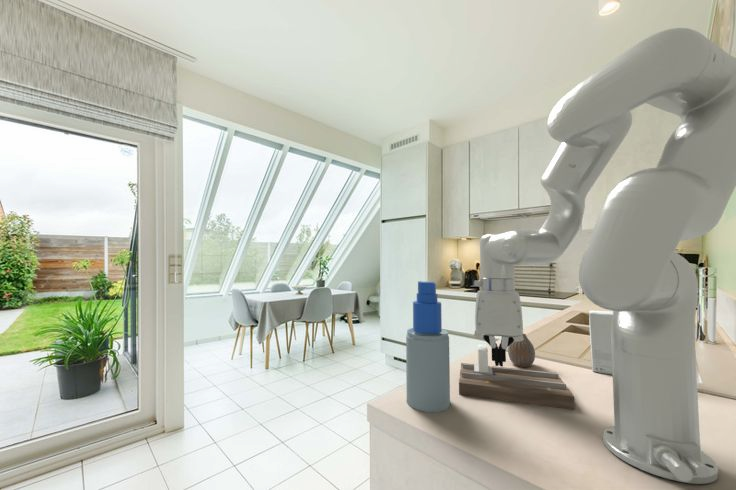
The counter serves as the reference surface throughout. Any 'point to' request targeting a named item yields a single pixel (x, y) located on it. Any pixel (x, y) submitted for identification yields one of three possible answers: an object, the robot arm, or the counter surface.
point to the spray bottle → (427, 354)
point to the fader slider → (483, 361)
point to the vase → (522, 352)
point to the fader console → (516, 386)
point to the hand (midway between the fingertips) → (498, 364)
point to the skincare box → (601, 341)
